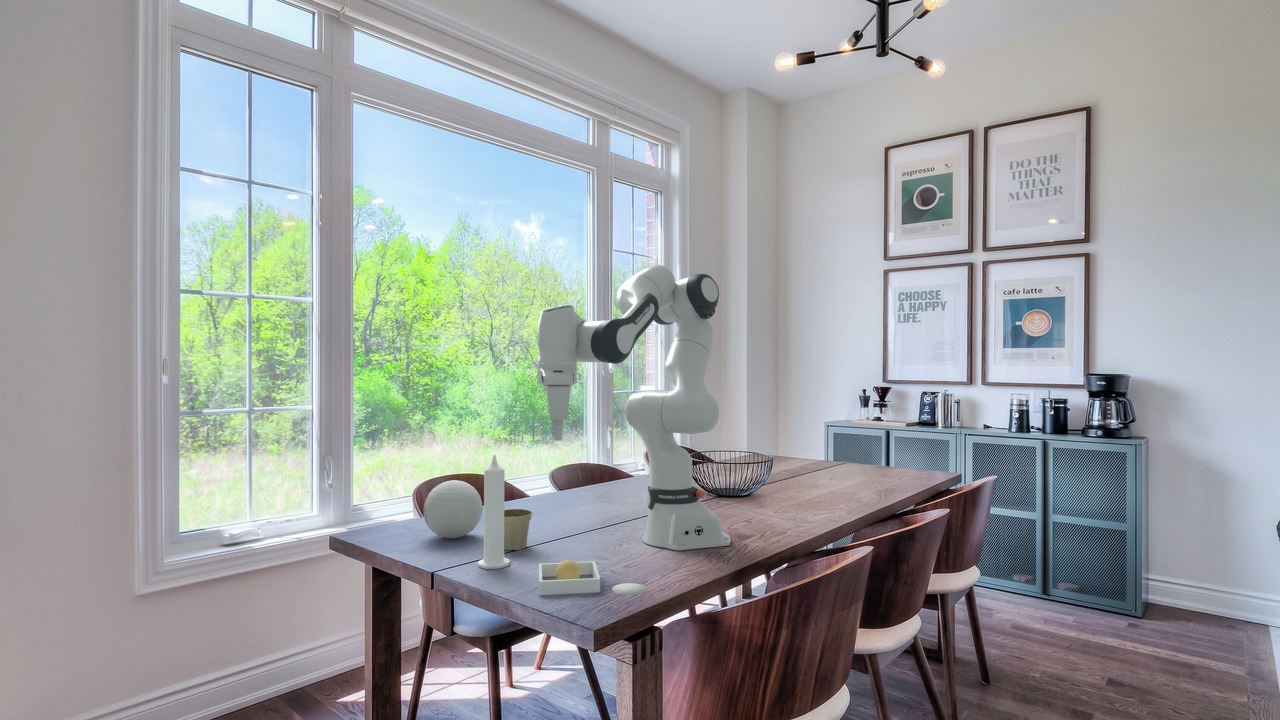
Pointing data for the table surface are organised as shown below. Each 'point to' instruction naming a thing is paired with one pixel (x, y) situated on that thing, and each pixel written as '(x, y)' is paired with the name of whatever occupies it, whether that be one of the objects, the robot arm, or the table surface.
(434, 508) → the decorative object
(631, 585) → the coaster
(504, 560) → the candle
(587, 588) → the shallow white box
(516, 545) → the flower pot
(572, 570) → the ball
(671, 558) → the table surface
